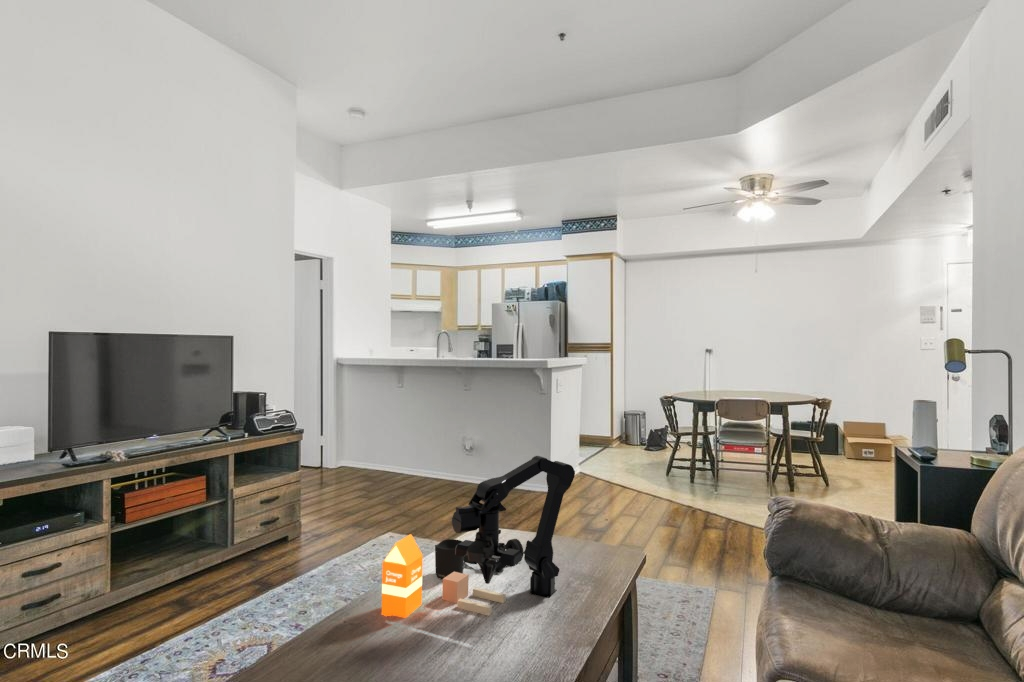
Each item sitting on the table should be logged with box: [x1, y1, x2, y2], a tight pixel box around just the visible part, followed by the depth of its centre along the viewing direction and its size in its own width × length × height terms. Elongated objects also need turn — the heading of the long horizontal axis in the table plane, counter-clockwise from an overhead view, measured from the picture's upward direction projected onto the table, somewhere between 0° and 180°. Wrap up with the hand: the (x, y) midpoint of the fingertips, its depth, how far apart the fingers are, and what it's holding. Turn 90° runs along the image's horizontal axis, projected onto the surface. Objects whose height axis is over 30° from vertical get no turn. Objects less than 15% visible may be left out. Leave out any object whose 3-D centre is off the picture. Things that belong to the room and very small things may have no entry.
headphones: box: [464, 538, 524, 572], centre depth 195 cm, size 17×7×20 cm
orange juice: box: [381, 533, 424, 619], centre depth 156 cm, size 8×9×20 cm
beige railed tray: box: [456, 587, 507, 617], centre depth 162 cm, size 18×12×2 cm, turn 63°
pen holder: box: [434, 538, 465, 580], centre depth 181 cm, size 9×9×10 cm
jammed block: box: [442, 572, 469, 604], centre depth 164 cm, size 5×6×6 cm
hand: (487, 583), depth 159 cm, fingers closed
